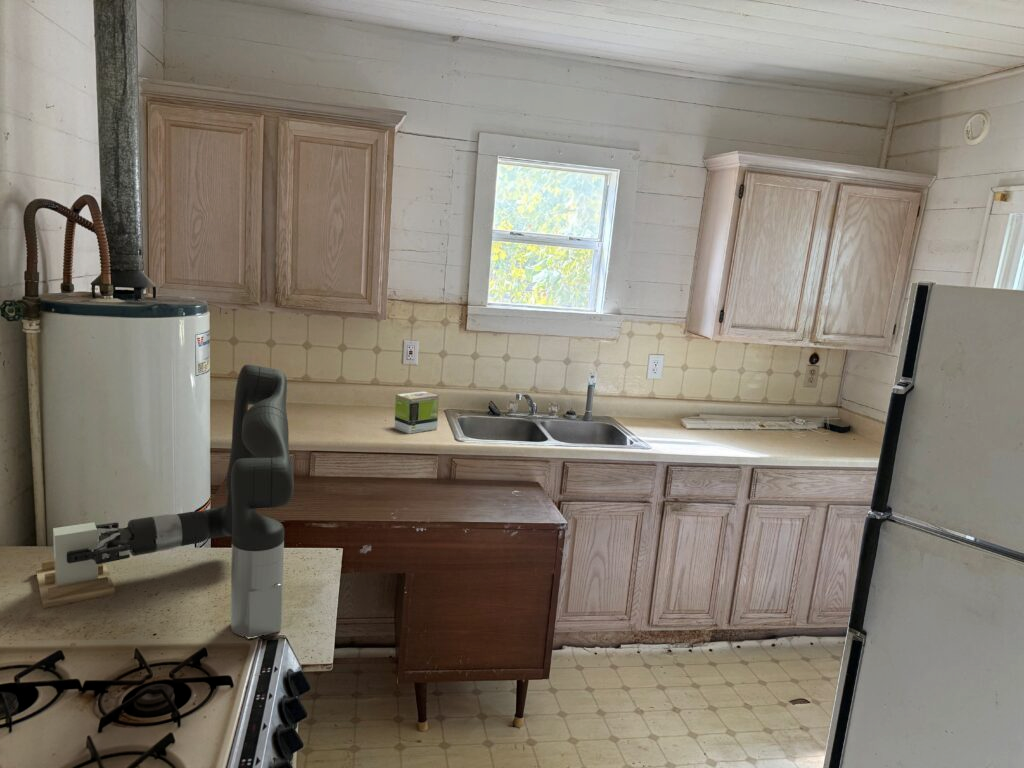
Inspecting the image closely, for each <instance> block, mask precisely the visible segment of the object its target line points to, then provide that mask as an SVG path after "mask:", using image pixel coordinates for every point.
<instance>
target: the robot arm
mask: <svg viewBox="0 0 1024 768" xmlns="http://www.w3.org/2000/svg"><path fill="white" fill-rule="evenodd" d="M237 376H238V377H237V380H236V385H235V386H236V387H235V394H234V403H233V404H234V405H233V416H232V430H231V432H232V434H231V435H232V436H231V446H230V447H231V448H230V456H229V461H228V466H227V472H226V478H225V483H224V484H225V487H224V488H225V491H226V492H227V498H226V505H222V506H218V507H212V508H208V509H205V510H197V511H196V510H195V511H188V512H182V513H181V512H180V513H174V514H172V513H171V514H161V515H154V516H153V515H152V516H147V517H141V518H134V519H130V520H129V521H128V522H127V526H126V527H123V528H122V527H121V528H120V525H119V522H110V523H102V524H95V525H96V528H97V545H96V546H94V547H92V548H90V550H89V548H86V549H80V550H74V551H69V552H67V554H66V557H67V563H74V562H80V561H86V560H91V561H95V563H96V564H102V563H105V564H107V563H112V562H116V561H121V560H126V559H129V558H130V557H131V556H134V557H136V556H141V555H142V556H143V555H147V554H152V553H158V552H164V551H168V550H169V551H170V550H173V549H176V548H179V547H184V546H190V545H194V544H195V545H196V544H199V543H202V542H205V541H207V540H210V539H216V538H221V537H231V560H230V561H231V567H230V568H231V571H230V572H231V573H230V574H231V575H230V583H231V584H230V629H231V630H230V631H232V632H233V633H234V634H236V635H237V634H238V636H240V635H243V636H242V637H244V636H247V637H254V636H260V635H264V636H268V635H270V634H271V635H272V634H276V633H279V632H281V629H282V622H283V585H284V582H283V580H284V555H285V554H284V552H285V551H284V549H285V528H284V524H282V522H280V521H279V520H276V519H274V518H271V517H268V516H264V515H262V514H259V513H258V509H270V508H272V509H273V508H281V507H285V506H287V505H288V504H289V503H290V502H291V500H292V498H293V495H294V487H295V477H294V476H295V475H294V470H293V465H292V460H291V455H290V448H289V438H290V437H289V436H290V435H289V433H290V432H289V421H288V413H287V394H288V393H287V392H288V381H287V377H286V374H285V372H284V371H281V370H279V369H276V368H270V367H267V366H266V367H265V366H259V365H254V364H245V365H243V366H242V367H241V369H240V371H239V374H238V375H237ZM249 405H252V406H251V407H249Z"/></svg>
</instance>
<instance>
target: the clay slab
mask: <svg viewBox="0 0 1024 768" xmlns="http://www.w3.org/2000/svg"><path fill="white" fill-rule="evenodd" d="M96 525H97V524H95V522H88V523H81V524H73V525H66V526H61V527H60V526H59V527H53V528H52V535H53V536H52V537H53V538H52V539H53V559H54V566H55V586H56V587H58V586H63V585H68V584H73V583H78V582H83V581H89V580H94V579H98V564H96V563H95V561H91V560H86V561H80V562H74V563H67V557H66V554H67V552H69V551H74V550H80V549H86V548H89V550H90V548H92V547H94V546H96V545H97V528H96Z"/></svg>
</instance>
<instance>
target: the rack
mask: <svg viewBox="0 0 1024 768" xmlns="http://www.w3.org/2000/svg"><path fill="white" fill-rule="evenodd" d="M36 575H37V576H36ZM35 576H36V580H38V581H37V585H38V590H39V595H40V599H41V604H42V609H47V608H48V609H49V608H51V607H56V606H61V605H66V604H71V603H75V602H80V601H85V600H89V599H94V598H99V597H103V596H110V595H113V594H116V586H115V584H114V582H113V580H112V578H111V575H110V572H109V570H108V567H107V565H106V563H102V564H98V579H94V580H89V581H83V582H78V583H73V584H68V585H63V586H58V587H56V586H55V566H54V558H51V559H43V560H41V567H38V568H35Z"/></svg>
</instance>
